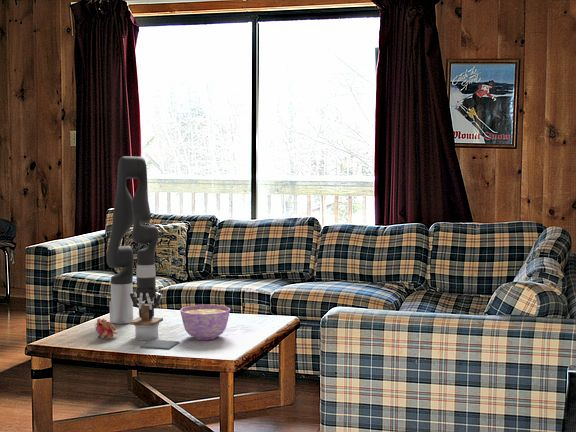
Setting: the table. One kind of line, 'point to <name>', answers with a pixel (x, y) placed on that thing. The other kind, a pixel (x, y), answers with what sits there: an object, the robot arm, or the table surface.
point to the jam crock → (146, 332)
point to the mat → (159, 344)
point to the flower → (105, 329)
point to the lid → (145, 318)
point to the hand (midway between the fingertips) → (146, 317)
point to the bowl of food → (205, 320)
